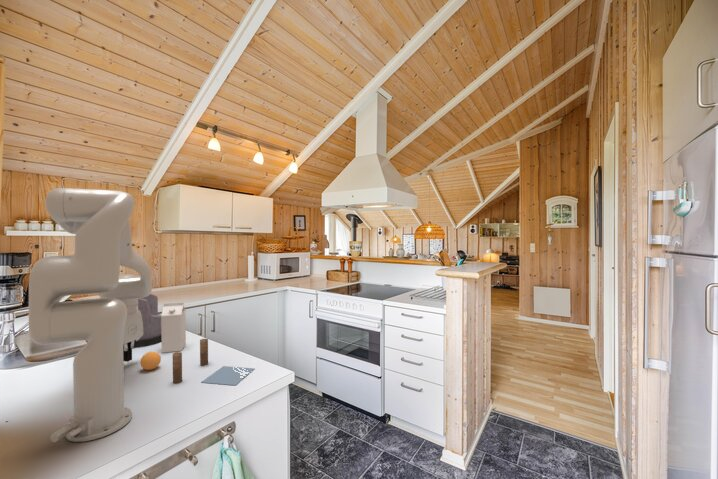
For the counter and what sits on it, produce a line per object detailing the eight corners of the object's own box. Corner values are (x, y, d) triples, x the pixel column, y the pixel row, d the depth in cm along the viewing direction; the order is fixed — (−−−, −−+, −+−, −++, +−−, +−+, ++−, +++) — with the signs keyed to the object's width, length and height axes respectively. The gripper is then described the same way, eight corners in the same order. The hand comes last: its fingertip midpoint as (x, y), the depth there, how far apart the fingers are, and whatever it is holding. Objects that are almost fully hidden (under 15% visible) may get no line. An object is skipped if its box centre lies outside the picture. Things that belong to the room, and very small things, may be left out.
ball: (151, 373, 105) (151, 356, 105) (135, 372, 106) (135, 354, 106) (165, 366, 111) (164, 349, 111) (150, 364, 112) (150, 348, 112)
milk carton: (166, 346, 130) (166, 301, 129) (185, 345, 132) (185, 300, 132) (161, 353, 123) (160, 305, 123) (181, 351, 125) (181, 304, 125)
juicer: (160, 332, 149) (159, 281, 149) (176, 338, 140) (175, 285, 139) (78, 352, 124) (77, 291, 124) (91, 361, 115) (90, 296, 115)
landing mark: (235, 385, 97) (235, 385, 97) (201, 382, 99) (201, 382, 99) (254, 369, 109) (254, 368, 109) (223, 366, 111) (223, 366, 111)
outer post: (205, 366, 111) (204, 341, 111) (198, 365, 112) (198, 340, 111) (209, 363, 114) (209, 338, 114) (203, 362, 114) (203, 338, 114)
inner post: (178, 383, 98) (177, 355, 98) (170, 383, 99) (170, 355, 98) (184, 379, 101) (183, 352, 101) (176, 379, 101) (176, 352, 101)
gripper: (114, 316, 102) (115, 370, 103) (151, 305, 117) (152, 353, 117) (95, 314, 103) (96, 368, 104) (134, 304, 118) (135, 351, 119)
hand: (126, 360), depth 111 cm, fingers closed
